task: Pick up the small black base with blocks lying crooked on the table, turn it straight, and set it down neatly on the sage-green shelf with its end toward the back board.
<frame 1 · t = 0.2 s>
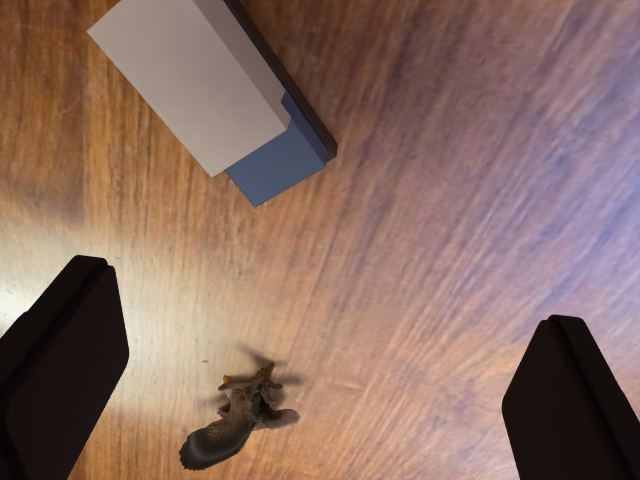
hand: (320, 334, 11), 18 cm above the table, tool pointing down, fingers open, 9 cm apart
black base with blocks: (237, 79, 26), on the table
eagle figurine: (247, 386, 40), on the table
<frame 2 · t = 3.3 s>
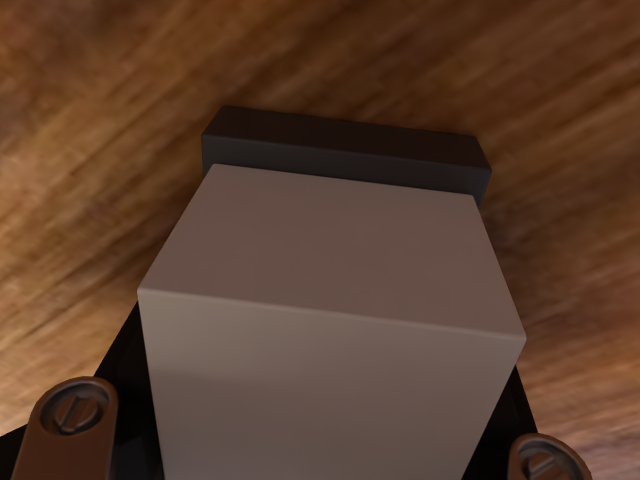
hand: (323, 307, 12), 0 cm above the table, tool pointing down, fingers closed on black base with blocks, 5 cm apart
black base with blocks: (319, 339, 13), on the table, touching gripper
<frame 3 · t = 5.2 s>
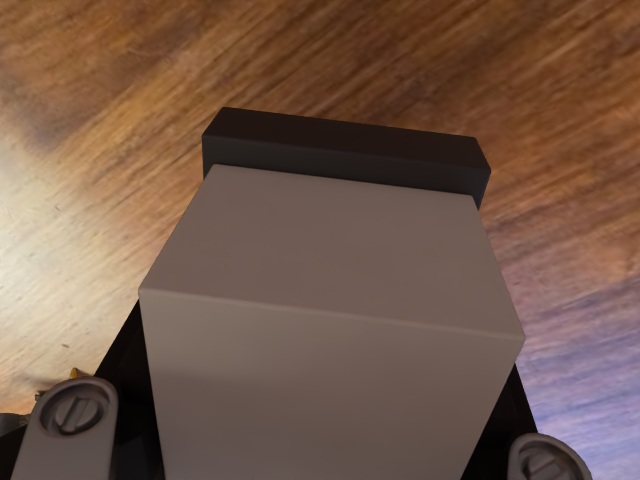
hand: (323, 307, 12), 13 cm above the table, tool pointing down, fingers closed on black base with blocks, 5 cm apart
black base with blocks: (319, 339, 13), point 13 cm above the table, touching gripper
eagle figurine: (90, 387, 35), on the table
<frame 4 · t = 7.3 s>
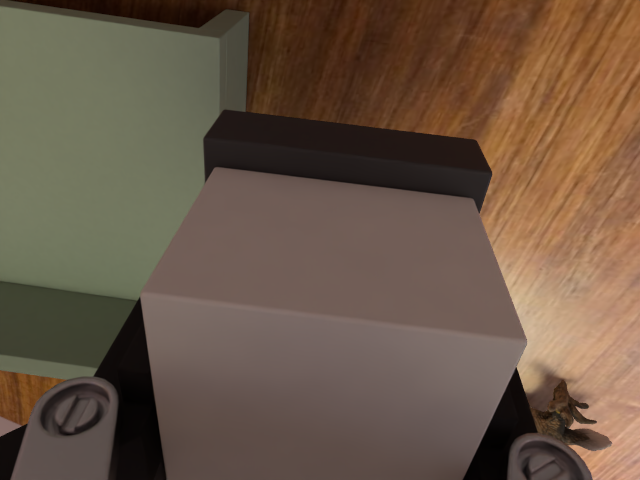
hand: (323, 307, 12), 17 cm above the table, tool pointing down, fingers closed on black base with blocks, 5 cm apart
black base with blocks: (320, 340, 13), point 17 cm above the table, touching gripper
shelf: (126, 141, 29), on the table
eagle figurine: (520, 403, 39), on the table
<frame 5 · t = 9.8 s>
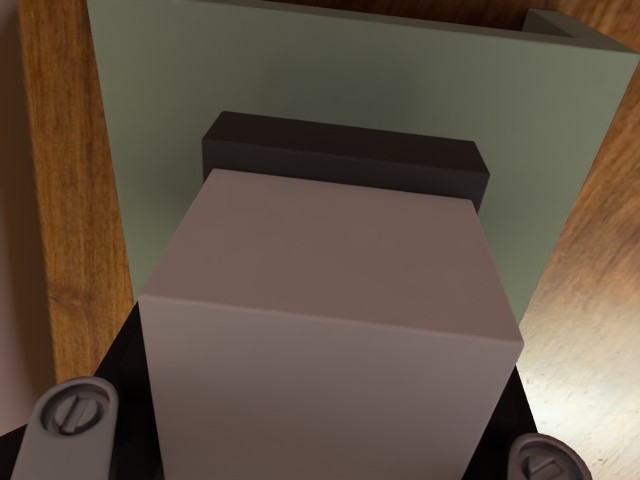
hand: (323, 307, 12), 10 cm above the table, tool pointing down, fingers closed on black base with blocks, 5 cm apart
black base with blocks: (318, 341, 13), point 10 cm above the table, touching gripper
shelf: (336, 188, 22), on the table
when the fingers open (6 cm above the table, at t = 11.3 s): black base with blocks stays where it is, resting on shelf.
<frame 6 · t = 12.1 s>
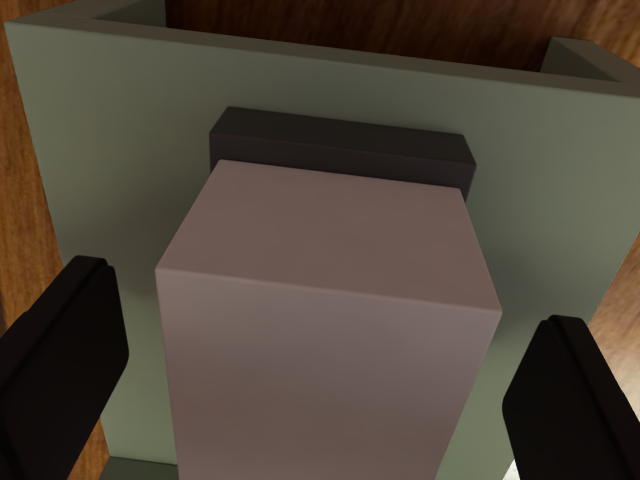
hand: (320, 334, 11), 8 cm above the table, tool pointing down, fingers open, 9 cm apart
black base with blocks: (318, 327, 14), point 6 cm above the table, touching shelf
shelf: (328, 235, 19), on the table
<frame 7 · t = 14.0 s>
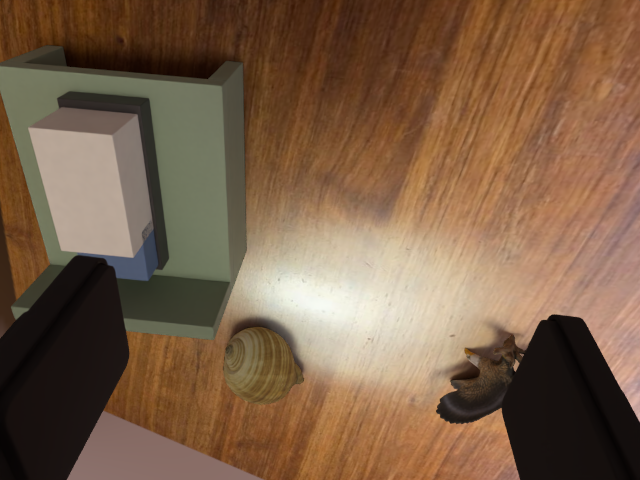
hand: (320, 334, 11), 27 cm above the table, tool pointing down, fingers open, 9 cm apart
black base with blocks: (124, 182, 33), point 6 cm above the table, touching shelf
shelf: (157, 159, 39), on the table
seashell: (268, 349, 49), on the table
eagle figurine: (481, 357, 48), on the table
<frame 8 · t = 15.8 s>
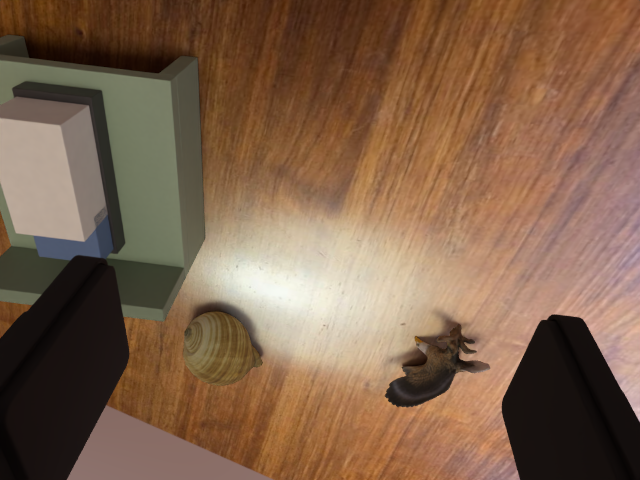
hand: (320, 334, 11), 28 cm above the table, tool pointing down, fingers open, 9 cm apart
black base with blocks: (80, 169, 35), point 6 cm above the table, touching shelf
shelf: (117, 147, 40), on the table
seashell: (228, 333, 51), on the table
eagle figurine: (431, 345, 50), on the table
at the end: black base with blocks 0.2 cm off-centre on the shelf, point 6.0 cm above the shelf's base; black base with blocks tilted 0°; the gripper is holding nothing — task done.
